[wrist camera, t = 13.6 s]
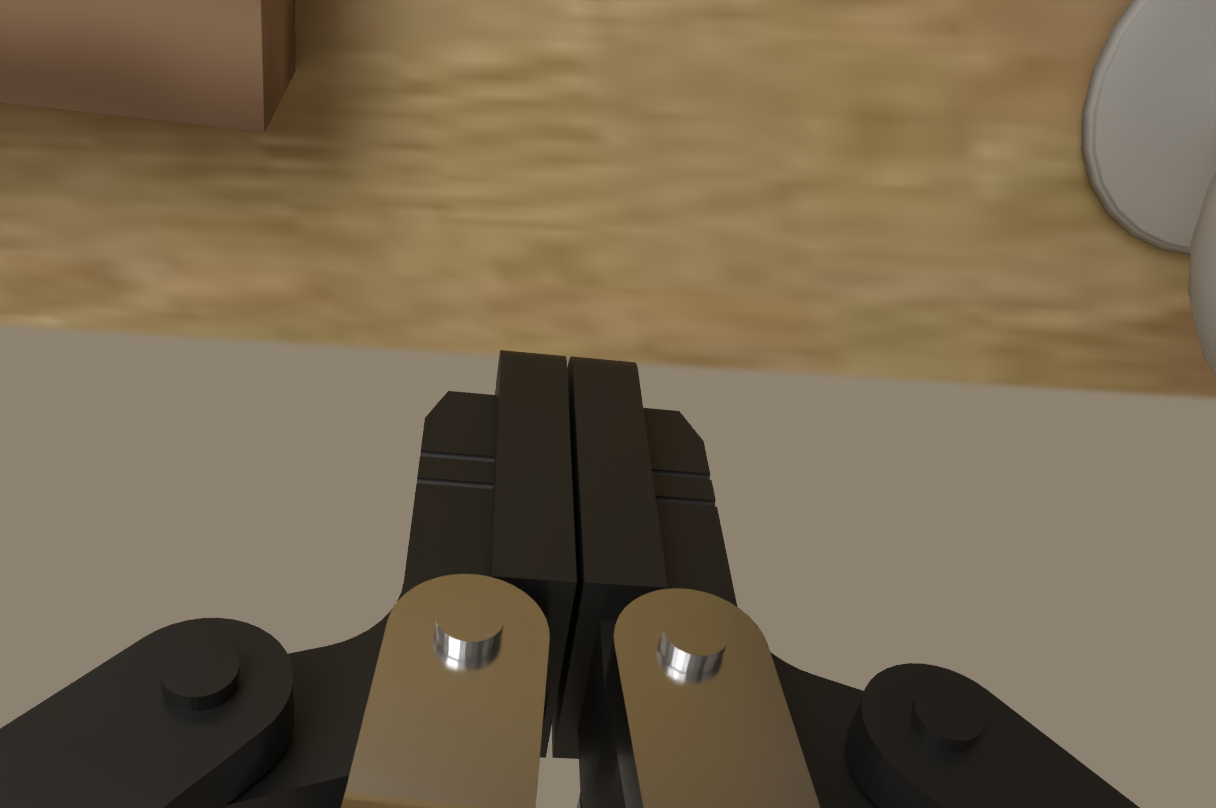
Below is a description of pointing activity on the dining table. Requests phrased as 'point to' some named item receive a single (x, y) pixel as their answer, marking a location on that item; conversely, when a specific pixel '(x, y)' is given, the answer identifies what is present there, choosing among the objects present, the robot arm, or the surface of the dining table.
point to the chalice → (1160, 138)
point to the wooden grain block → (150, 58)
